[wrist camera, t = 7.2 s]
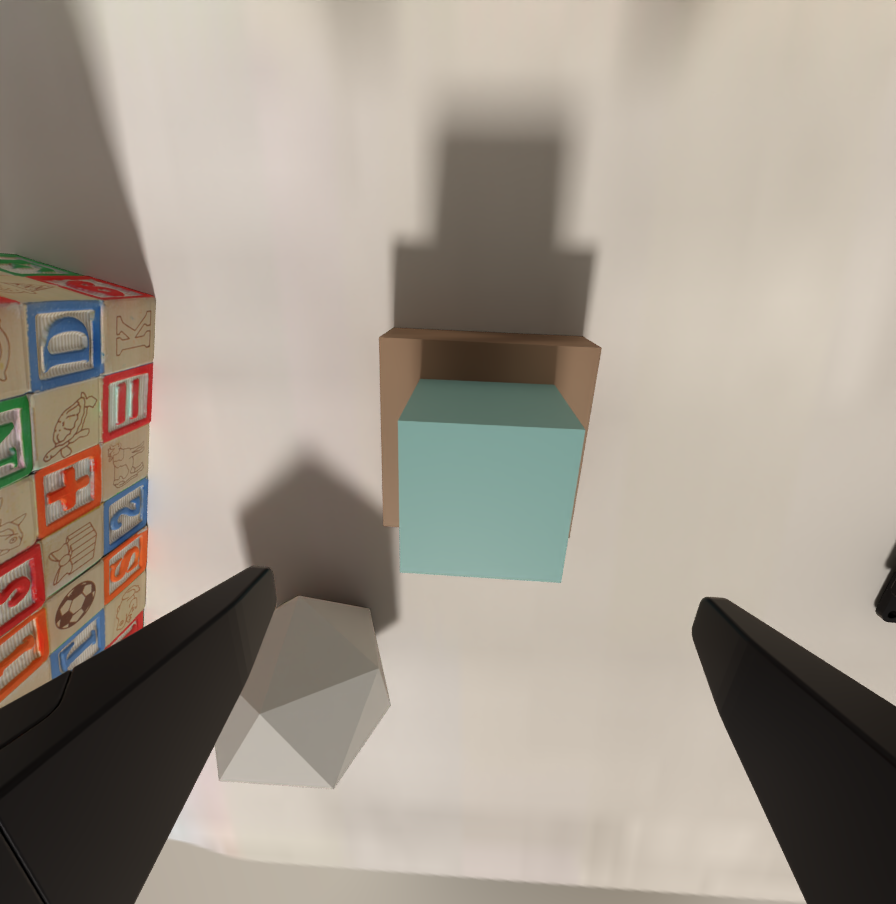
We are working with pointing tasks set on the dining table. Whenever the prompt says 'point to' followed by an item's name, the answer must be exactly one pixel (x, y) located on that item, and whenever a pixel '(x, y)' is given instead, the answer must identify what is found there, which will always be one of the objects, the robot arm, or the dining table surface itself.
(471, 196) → the dining table surface
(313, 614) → the die
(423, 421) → the teal cube
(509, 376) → the walnut base
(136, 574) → the printed cardboard box
